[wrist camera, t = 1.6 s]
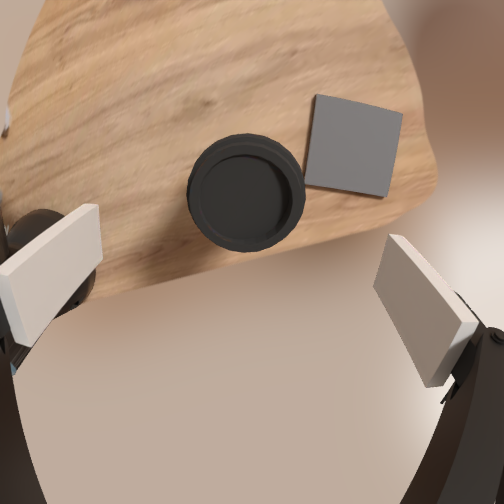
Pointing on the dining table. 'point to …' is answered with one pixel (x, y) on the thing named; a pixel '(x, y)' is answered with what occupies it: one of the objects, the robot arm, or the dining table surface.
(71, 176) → the dining table surface
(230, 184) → the coffee cup
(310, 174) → the coaster
